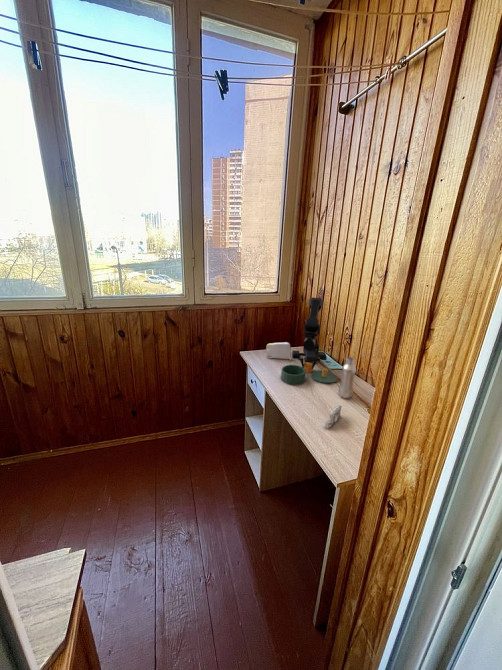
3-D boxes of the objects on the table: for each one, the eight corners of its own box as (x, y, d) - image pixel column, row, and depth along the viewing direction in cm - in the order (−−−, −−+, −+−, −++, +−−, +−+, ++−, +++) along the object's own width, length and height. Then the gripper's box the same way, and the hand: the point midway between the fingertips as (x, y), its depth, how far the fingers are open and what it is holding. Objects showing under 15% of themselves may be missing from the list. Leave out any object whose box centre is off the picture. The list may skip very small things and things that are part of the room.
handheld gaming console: (267, 359, 185) (291, 358, 182) (267, 361, 183) (291, 360, 179) (266, 342, 182) (290, 342, 178) (265, 344, 179) (289, 343, 176)
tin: (280, 373, 164) (281, 364, 162) (303, 374, 163) (304, 365, 161) (281, 384, 152) (282, 374, 150) (306, 385, 151) (307, 376, 149)
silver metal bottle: (352, 394, 144) (358, 356, 137) (351, 401, 138) (358, 362, 131) (338, 391, 146) (343, 354, 139) (337, 398, 140) (343, 360, 133)
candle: (302, 368, 170) (303, 362, 168) (311, 368, 169) (311, 362, 168) (303, 372, 165) (304, 365, 164) (312, 372, 165) (313, 366, 163)
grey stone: (328, 429, 118) (330, 417, 116) (324, 427, 119) (325, 415, 117) (340, 416, 127) (342, 404, 125) (336, 414, 128) (338, 402, 126)
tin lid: (309, 371, 166) (310, 362, 164) (334, 372, 165) (335, 363, 163) (313, 383, 153) (314, 373, 151) (339, 384, 153) (340, 375, 151)
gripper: (294, 348, 154) (292, 374, 160) (329, 349, 153) (326, 376, 159) (292, 340, 165) (290, 365, 170) (326, 342, 164) (323, 367, 169)
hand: (307, 368), depth 167 cm, fingers closed on candle, 5 cm apart
